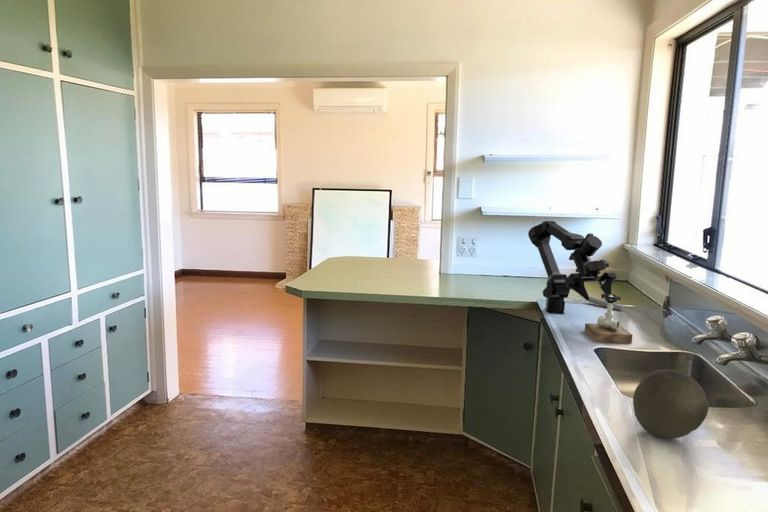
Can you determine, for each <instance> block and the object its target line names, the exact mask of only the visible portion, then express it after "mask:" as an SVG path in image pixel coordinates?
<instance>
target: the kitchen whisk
mask: <svg viewBox="0 0 768 512" xmlns="http://www.w3.org/2000/svg"><path fill="white" fill-rule="evenodd" d="M571 290H572V291H573V289H570V291H571ZM572 294H573V295H572ZM569 295H570V296H576V298H573V299H574V300H577V297H578V298H579V297H580V299H579V302H588V303H590V304H593V305H598V306H601V307H604V308H607V305H609V303H608V302H606V301H605V299H603V298H598V297H595V296H590V295H589V300H588V301H587V300H586V299H584V298H583V297H582V296H581V295H580V294H577V293H576V294H575V293H573V292H572V293H569ZM567 298H570V299H571V297H567ZM573 299H572V300H571V302H572V301H573V302H574V300H573ZM612 306H613V310H615V311H619V312H622V311H623V310H624V308H626V309H627V307H626V306H624V305H622V304H620V303H617V302H614V303H612Z"/></svg>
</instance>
